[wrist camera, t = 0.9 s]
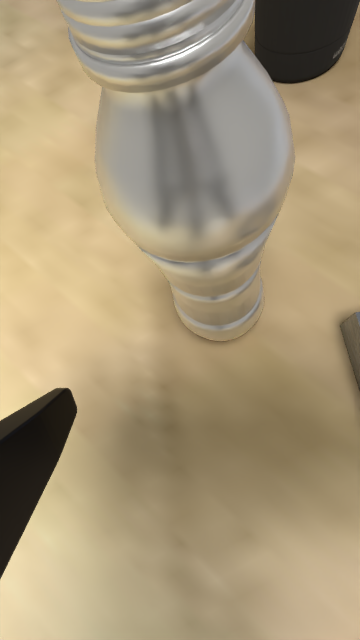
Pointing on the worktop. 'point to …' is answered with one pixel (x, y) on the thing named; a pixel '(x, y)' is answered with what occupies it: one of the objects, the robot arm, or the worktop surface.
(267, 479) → the worktop surface
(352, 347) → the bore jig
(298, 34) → the pen holder
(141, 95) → the plastic bottle
